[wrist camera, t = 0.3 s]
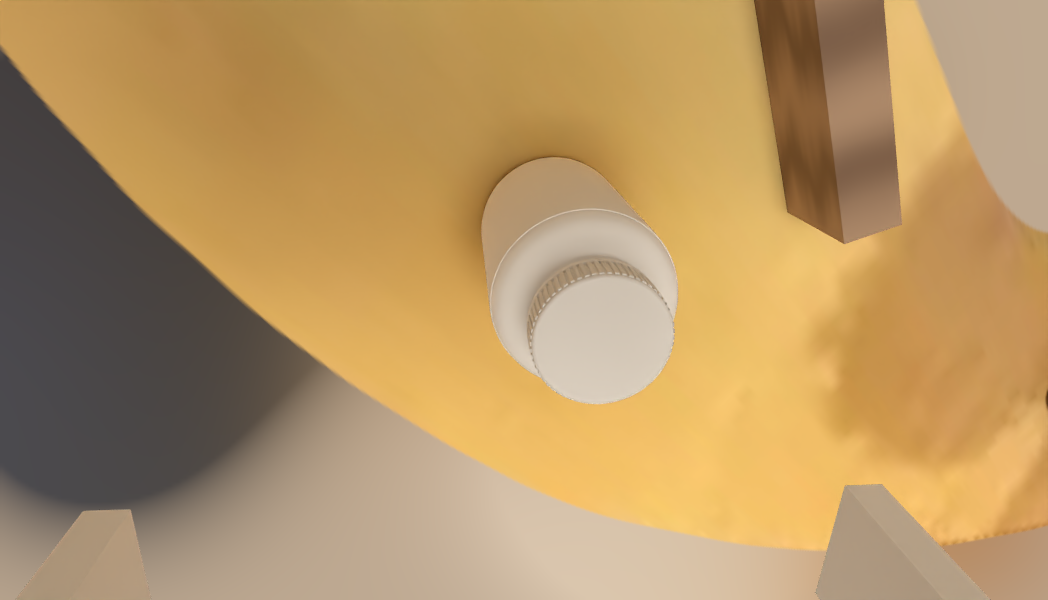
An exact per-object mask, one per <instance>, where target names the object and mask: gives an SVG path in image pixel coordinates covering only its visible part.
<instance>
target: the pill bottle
mask: <svg viewBox="0 0 1048 600" xmlns="http://www.w3.org/2000/svg"><path fill="white" fill-rule="evenodd" d="M481 235H482V244H483V253H484V262H485V271H486V280H487V288H488V297H489V306H490V313H491V318H492V322H493V325H494V328H495V331H496V333H497V336H498V338H499V340H500V341H501V343H502V345H503V346H504V348H505V349H506V350H507V352H508V353H509V354H510V355H511V356H512V357H513V358H514V359H515V360H516V361H517V362H518V363H519V364H520V365H521V366H522V367H524V368H525V369H526V370H528V371H529V372H531V373H533V374H534V375H536V376H538V377H540V378H542V380H543V381H544V382H546V384H547V385H548V386H550V388H551V389H552V390H553V391H554V390H555V391H556V393H558V394H561V395H562V396H563V397H566V398H568V399H570V400H574V401H577V402H581V403H588V404H605V403H612V402H616V401H620V400H623V399H626V398H628V397H630V396H632V395H634V394H636V393H638V392H639V391H641V390H643V389H644V388H645V387H647V386H648V385H649V384H650V383H651V382H652V381H653V380H654V379H655V378H656V377H657V376H658V375H659V373H660V372H661V371H662V369H663V368H664V366H665V365H666V363H667V360H668V359H669V357H670V353H671V351H672V346H673V344H674V342H673V340H674V333H675V329H674V328H673V327H674V322H673V320H674V317H675V313H676V309H677V302H678V282H677V275H676V270H675V266H674V263H673V261H672V258H671V256H670V254H669V252H668V250H667V249H666V247H665V245H664V244H663V242H662V241H661V240H660V238H659V237H658V236H657V235H656V234H655V232H654V231H653V230H652V229H651V228H650V227H649V226H648V225H647V224H646V223H645V221H644V220H643V219H642V218H641V217H640V216H639V215H638V214H637V213H636V212H635V210H634V209H633V208H632V207H631V206H630V205H629V204H628V203H627V202H626V201H625V199H624V198H623V197H622V196H621V195H620V194H619V193H618V192H617V191H616V190H615V189H614V187H613V186H612V185H611V184H610V183H609V182H608V181H607V180H606V179H605V178H604V177H603V176H602V175H601V174H600V173H599V172H597V171H596V170H594V169H593V168H591V167H589V166H587V165H585V164H583V163H581V162H578V161H576V160H572V159H568V158H561V157H548V158H541V159H536V160H533V161H530V162H527V163H525V164H523V165H521V166H519V167H517V168H515V169H514V170H512V171H511V172H510V173H508V174H507V175H506V176H505V177H504V178H503V179H502V180H501V181H500V182H499V183H498V184H497V186H496V187H495V188H494V190H493V192H492V193H491V195H490V197H489V199H488V201H487V204H486V206H485V210H484V214H483V218H482V226H481Z"/></svg>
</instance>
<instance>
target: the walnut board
mask: <svg viewBox="0 0 1048 600" xmlns="http://www.w3.org/2000/svg"><path fill="white" fill-rule="evenodd" d="M754 1H755V7H756V14H757V20H758V26H759V33H760V39H761V45H762V52H763V58H764V64H765V71H766V77H767V83H768V90H769V96H770V102H771V109H772V115H773V121H774V128H775V134H776V141H777V147H778V153H779V160H780V166H781V172H782V179H783V185H784V191H785V198H786V204H787V210H788V213H790V214H792V215H794V216H795V217H797V218H799V219H801V220H803V221H804V222H806V223H808V224H810V225H811V226H813V227H815V228H817V229H819V230H820V231H822V232H824V233H826V234H827V235H829V236H831V237H833V238H835V239H836V240H838V241H840V242H842V243H843V244H846V243H849V242H852V241H855V240H858V239H861V238H864V237H867V236H870V235H873V234H876V233H878V232H881V231H884V230H887V229H890V228H893V227H896V226H899V225H902V219H901V207H900V195H899V183H898V170H897V158H896V146H895V134H894V121H893V109H892V97H891V85H890V73H889V60H888V48H887V36H886V24H885V12H884V0H754Z"/></svg>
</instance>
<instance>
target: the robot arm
mask: <svg viewBox="0 0 1048 600" xmlns="http://www.w3.org/2000/svg"><path fill="white" fill-rule="evenodd" d="M816 594H817V596H818V598H819V599H820V600H990V598H989V597H988V596H987V595H986V594H985V593H984V592H983V591H982V590H981V589H980V588H979V587H978V586H977V585H976V584H975V583H974V581H973V580H972V579H971V578H970V577H969V576H968V575H967V574H966V573H965V572H964V571H963V570H962V569H961V568H960V567H959V566H958V565H957V564H956V563H955V561H954V560H953V559H952V558H951V557H950V556H949V555H948V554H947V553H946V552H945V551H944V550H943V549H942V548H941V547H940V545H939V544H938V543H937V542H936V541H935V540H934V539H933V538H932V537H931V536H930V535H929V534H928V533H927V532H926V531H925V530H924V529H923V527H922V526H921V525H920V524H919V523H918V522H917V521H916V520H915V519H914V518H913V517H912V516H911V515H910V514H909V513H908V512H907V511H906V510H905V508H904V507H903V506H902V505H901V504H900V503H899V502H898V501H897V500H896V499H895V498H894V497H893V496H892V495H891V494H890V493H889V492H888V490H887V489H886V488H885V487H884V486H883V485H882V484H877V485H847V486H845V487H844V491H843V494H842V498H841V502H840V505H839V509H838V512H837V516H836V520H835V523H834V527H833V531H832V534H831V538H830V541H829V545H828V549H827V552H826V556H825V560H824V563H823V567H822V571H821V574H820V578H819V581H818V585H817V589H816ZM15 600H151V596H150V592H149V587H148V583H147V579H146V574H145V570H144V566H143V562H142V557H141V553H140V548H139V544H138V540H137V535H136V531H135V527H134V523H133V518H132V514H131V510H99V511H83V512H82V513H81V515H80V516H79V517H78V518H77V520H76V521H75V523H74V524H73V525H72V526H71V528H70V529H69V531H68V532H67V533H66V534H65V535H64V537H63V538H62V539H61V541H60V542H59V543H58V545H57V546H56V547H55V548H54V550H53V551H52V552H51V554H50V555H49V556H48V558H47V559H46V560H45V562H44V563H43V564H42V566H41V567H40V568H39V569H38V571H37V572H36V573H35V575H34V576H33V577H32V579H31V580H30V581H29V582H28V584H27V585H26V586H25V588H24V589H23V590H22V591H21V593H20V594H19V595H18V597H17V598H16V599H15Z"/></svg>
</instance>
